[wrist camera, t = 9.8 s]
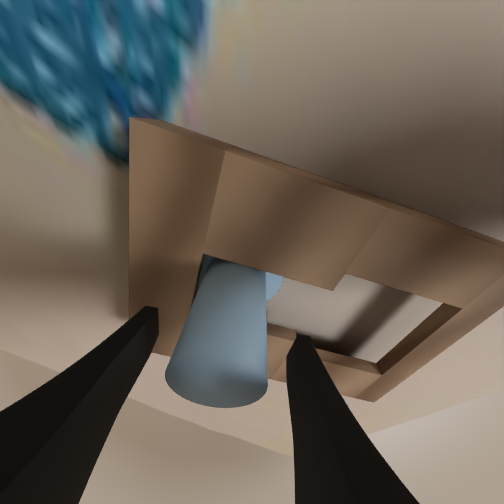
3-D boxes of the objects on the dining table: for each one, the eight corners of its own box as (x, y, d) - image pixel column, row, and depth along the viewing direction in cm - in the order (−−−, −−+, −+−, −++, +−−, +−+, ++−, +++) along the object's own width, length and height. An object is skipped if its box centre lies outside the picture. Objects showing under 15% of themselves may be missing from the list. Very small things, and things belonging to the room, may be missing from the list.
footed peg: (291, 230, 14) (321, 343, 6) (272, 299, 17) (279, 427, 10) (195, 216, 14) (117, 316, 6) (196, 289, 17) (144, 410, 10)
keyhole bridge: (500, 240, 13) (556, 266, 11) (360, 369, 21) (374, 402, 19) (161, 119, 11) (129, 117, 8) (147, 317, 19) (128, 347, 16)
